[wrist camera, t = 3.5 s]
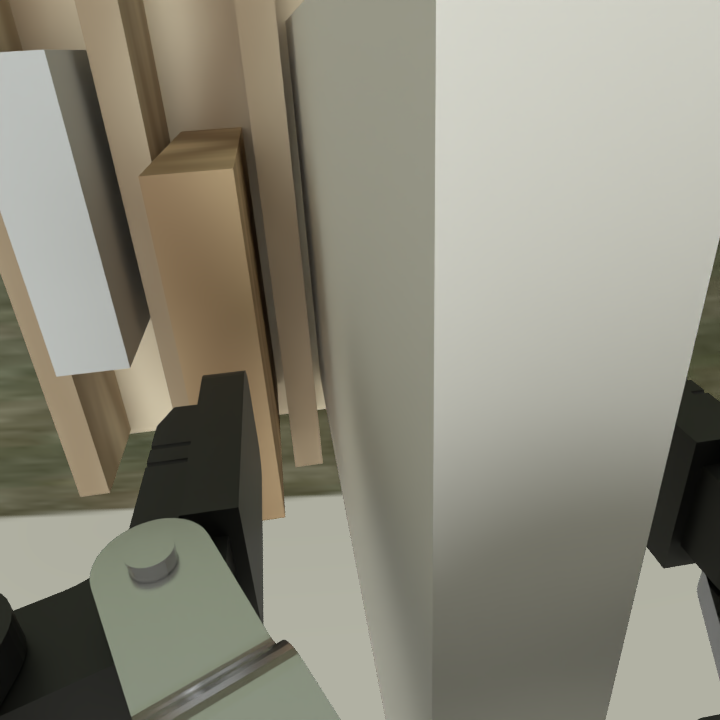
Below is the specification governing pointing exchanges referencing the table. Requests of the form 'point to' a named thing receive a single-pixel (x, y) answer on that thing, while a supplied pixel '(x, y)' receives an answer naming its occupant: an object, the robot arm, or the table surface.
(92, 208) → the offcut grey
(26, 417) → the table surface
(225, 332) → the offcut oak
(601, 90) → the sheet
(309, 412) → the rack
